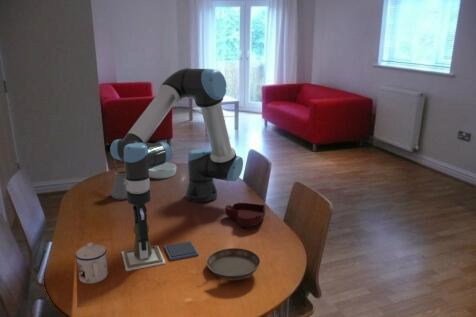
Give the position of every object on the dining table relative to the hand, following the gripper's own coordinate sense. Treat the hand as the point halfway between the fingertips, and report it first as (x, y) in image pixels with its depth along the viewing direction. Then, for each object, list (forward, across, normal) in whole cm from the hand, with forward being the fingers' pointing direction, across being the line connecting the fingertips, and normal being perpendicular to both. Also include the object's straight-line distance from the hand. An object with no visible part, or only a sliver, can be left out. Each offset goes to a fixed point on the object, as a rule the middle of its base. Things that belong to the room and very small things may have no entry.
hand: (142, 253), depth 142 cm
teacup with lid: (+2, +7, -16) cm, 18 cm away
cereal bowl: (+2, -87, +24) cm, 90 cm away
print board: (+2, 0, 0) cm, 2 cm away
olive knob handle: (0, 0, 0) cm, 1 cm away
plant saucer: (+2, +18, +27) cm, 32 cm away
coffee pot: (+2, -68, 0) cm, 68 cm away
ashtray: (+2, -18, +47) cm, 50 cm away
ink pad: (+2, 0, +14) cm, 14 cm away
